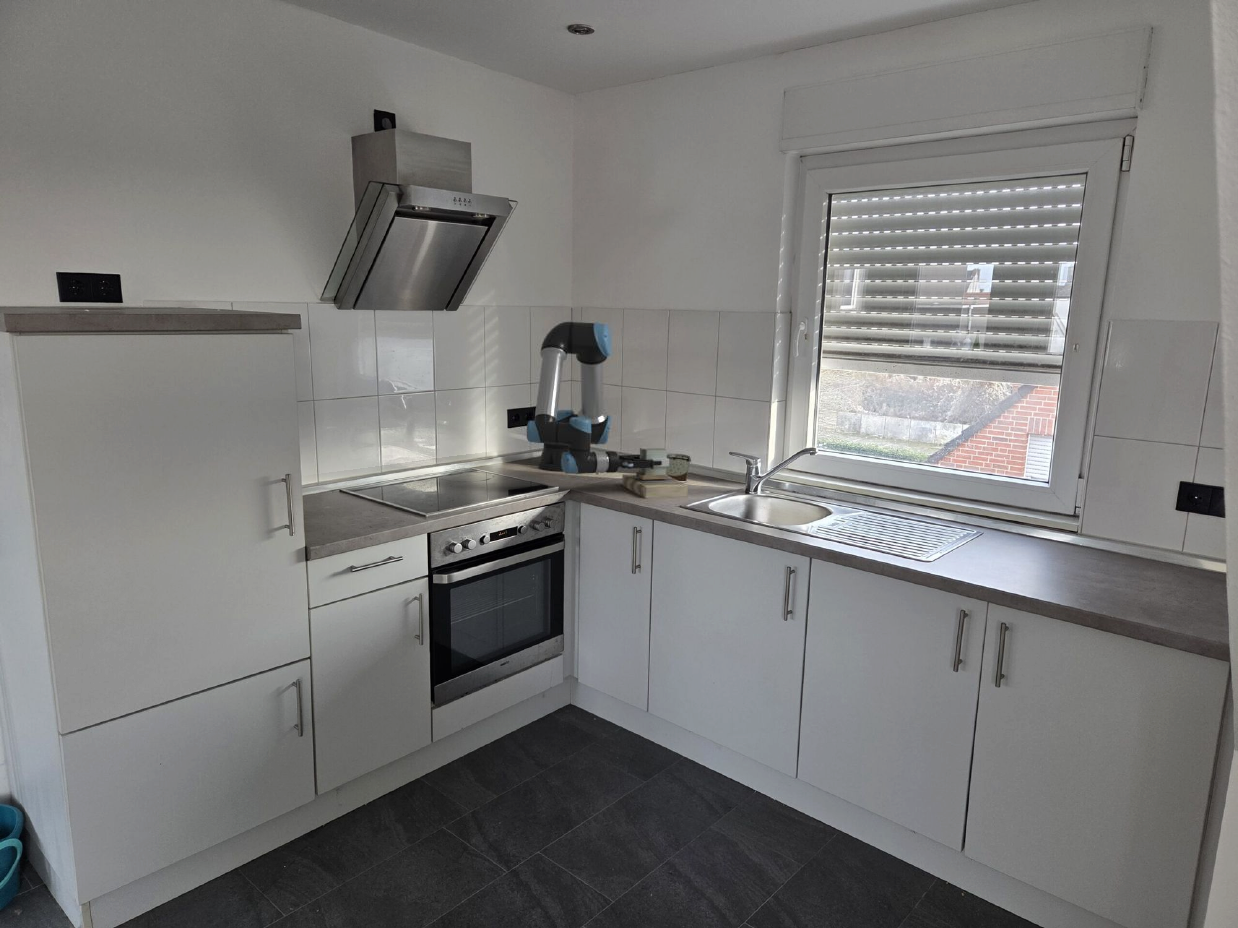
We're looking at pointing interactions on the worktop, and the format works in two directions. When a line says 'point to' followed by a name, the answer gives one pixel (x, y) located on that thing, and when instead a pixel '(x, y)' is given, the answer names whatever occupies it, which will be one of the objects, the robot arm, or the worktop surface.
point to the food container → (678, 466)
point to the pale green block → (656, 472)
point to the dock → (655, 487)
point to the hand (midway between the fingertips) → (664, 460)
